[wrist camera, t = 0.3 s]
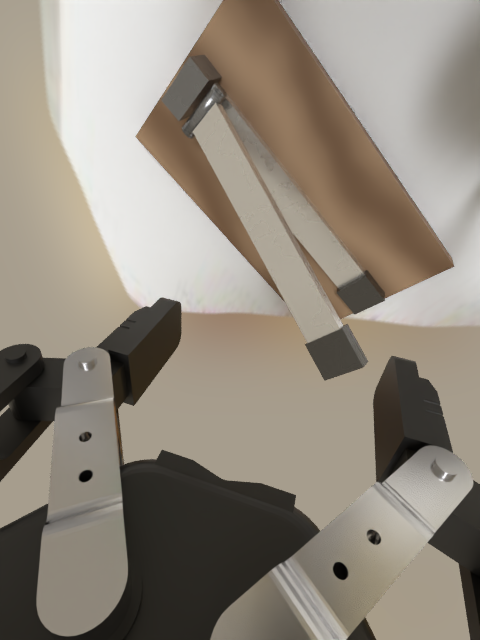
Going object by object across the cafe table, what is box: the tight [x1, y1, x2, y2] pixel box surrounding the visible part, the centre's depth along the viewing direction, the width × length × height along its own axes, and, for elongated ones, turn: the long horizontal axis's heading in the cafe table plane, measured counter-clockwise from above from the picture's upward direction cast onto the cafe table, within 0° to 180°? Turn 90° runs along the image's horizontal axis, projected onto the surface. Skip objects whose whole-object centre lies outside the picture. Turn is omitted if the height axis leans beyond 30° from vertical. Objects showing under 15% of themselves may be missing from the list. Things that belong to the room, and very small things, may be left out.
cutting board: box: [136, 0, 454, 319], centre depth 32 cm, size 16×28×2 cm, turn 45°
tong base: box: [161, 55, 385, 314], centre depth 31 cm, size 4×26×3 cm, turn 45°
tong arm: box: [182, 83, 368, 380], centre depth 27 cm, size 4×24×1 cm, turn 45°
